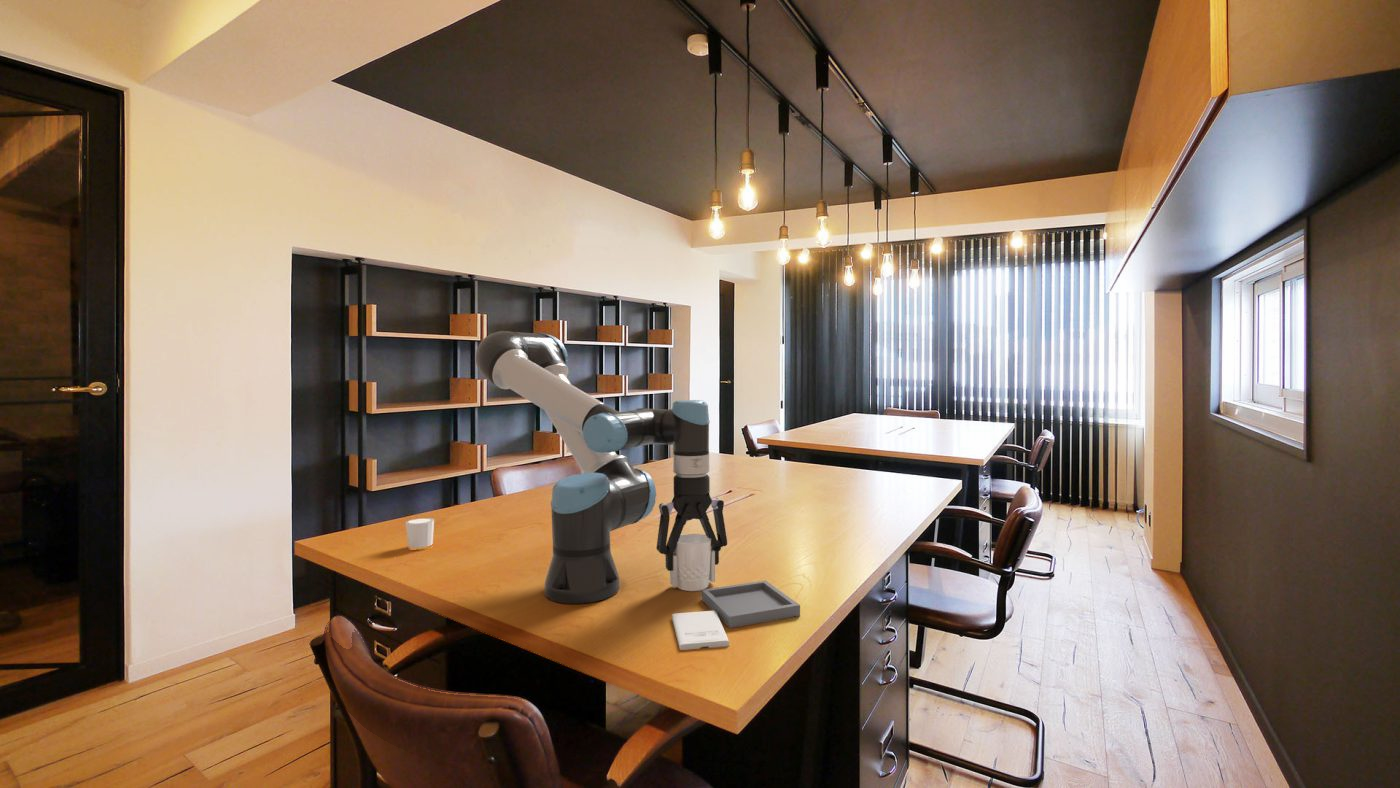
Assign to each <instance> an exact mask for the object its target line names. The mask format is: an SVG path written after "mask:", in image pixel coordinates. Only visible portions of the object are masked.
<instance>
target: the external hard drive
mask: <svg viewBox="0 0 1400 788" xmlns="http://www.w3.org/2000/svg"><path fill="white" fill-rule="evenodd" d="M671 620H672V621H671V622H672V624H673V629H674V632H675V635H676V640H677V643H678V648H679V650H680V651H686V650H687V651H688V650H698V649H702V648H703V649H705V648H709V649H711V648H723V647H724V648H725V647H730V641H729V638H728V636H727V633H726V631H725V629H724V626H723V624H722V622H721V621H722V620H721V619H720V618H719V617H718V615H717V612H716V611H712V610H704V611H702V610H701V611H692V612H690V611H688V612H679V613H678V612H676V613H672V614H671Z"/></svg>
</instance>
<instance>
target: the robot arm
mask: <svg viewBox="0 0 1400 788" xmlns="http://www.w3.org/2000/svg"><path fill="white" fill-rule="evenodd" d="M567 357H569V355H568V351H567V348H566V347H565V345H564V344H563V342H562V341H561V340H560V339H559V338H557V337H555V336H553V335H551V334H546V333H545V332H544V333H543V332H532V333H531V332H518V331H507V330H500V331H497V332H493V333H490V334H489V335H487V336H485V337H484V338H483V339H482V340H481V341H480V343H479V344H478V346H477V348H476V351H475V363H476V364H475V365H476V366H477V369H478V371H479V373H480V374H481V375H482V376H483V378H485V379H486V380H487V381H488V382H490V383H491V384H493V385H494V386H496V387H497V388H499V389H500V390H501V389H502V390H509V389H510V390H511V391H513V392H514V393H516V394H518V395H519V396H521V398H522V397H523V398H524V399H525V400H527V401H529V402H530V403H533V405H535V406H537V407H539V409H542V410H543V411H544V412H545V413H546V415H547V417H548V418H549V420H550V422H551V423H552V425H553V426H554V427H555V429H556V431H557V433H558V435H559V436H560V437H561V439H562V440H563V442H564V444H565V445H566V447H567V448H568V451H569V452H570V453H571V455H572V457H573V458H574V460H575V462H576V463H577V465H578V466H579V468H580V469H581V471H582V473H580V474H578V473H577V474H573V475H572V474H571V475H569V476H566V477H563V478H561V479H559V480H558V481H557V482H555V484H554V485H553V486H552V489H551V492H552V493H551V501H550V508H551V528H552V529H551V532H552V536H551V537H552V558H551V560H550V564H549V567H548V571H547V574H546V577H545V580H544V595H545V597H546V598H547V599H548V598H549V599H548V600H550V601H553V602H556V603H561V604H571V605H573V604H577V605H579V604H587V603H588V604H589V603H594V602H598V601H602V600H605V599H607V598H611V597H612V596H614V595H616V594H617V592H618V591H620V575H619V571H618V570H617V566H616V564H615V560H614V558H613V555H612V551H611V532H612V531H615V530H618V529H621V528H623V527H626V526H628V525H633V524H637V523H638V522H640V521H641V520H643V519H645V518H646V517H648V516H649V515H650V514H651V512H652V511H653V509H654V507H655V504H656V497H657V488H656V483H655V482H654V479H653V478H652V476H651V475H650V474H649V473H648V472H647V471H646V470H644V469H640V468H634V466H633V464H632V463H631V462H630V460H629V459H628V457H627V456H625V455H620V454H617V452H618V451H623V450H626V449H631V448H637V447H644V446H647V445H667V446H672V450H673V451H672V454H673V455H672V457H673V459H672V461H673V464H672V465H673V467H672V468H673V469H672V472H673V473H674V474H675V475H674V476H673V498H672V500H671V501H670V502H668V503H660V504H659V505H658V509H659V512H660V520H659V526H658V531H657V532H658V533H657V540H656V541H657V542H656V551H658V553H659V554H661V555H665V568H666V570H667V572H669V582H670V583H669V584H670V585H671V586H672V587H673V588H678V572H677V555H676V554H675V553H674V551H675V549H676V546H677V542H678V540H679V538H680V535H682V532H683V530H684V527H685V525H686V524H687V521H691V520H693V519H694V520H699V521H700V524H701V527H702V529H703V532H704V533H705V534H704V535H706V536H707V537H708V538H709V539H710V538H711V559H710V573H709V582H711V583H715V582H716V565H719V563H720V551H721V550H722V547H726V546H727V545H728V538H727V531H726V525H725V518H724V513H723V512H724V505H725V502H724V500H722V499H720V498H712V497H711V494H710V491H711V489H710V485H711V484H710V481H711V479H710V477H711V476H710V475H709V473H710V449H709V447H710V443H709V441H710V423H711V422H710V416H709V405H708V403H707V402H706V401H704V400H702V399H701V400H700V399H690V400H689V399H682V400H674V401H673V402H672V406H671V407H672V408H671V409H665V408H664V409H661V408H660V409H658V408H647V407H642V408H639V407H638V408H631V409H629V410H627V411H626V410H625V411H618V410H616V409H614V408H612V407H610V406H609V405H606V404H605V403H603V402H602V401H600V400H599V399H597V398H595V397H594V396H592V395H590V394H588V393H587V392H585V391H583V390H581V389H579V388H578V387H576V386H575V385H573V384H572V383H571V382H570V380H569V379H568V375H569V372H570V371H569V368H568V367H569V360H568V359H567ZM710 506H711V509H712V511H713V519H714V524H715V531H714V530H713V527H712V524H711V523H710V519H709V515H708V514H707V511H708V509H709V508H710ZM673 509H674V510H675V511H676V515H675V518H674V523H673V526H672V530H671V531H670V534H669V537H668V533H669V526H670V519H671V518H670V515H671V513H672V510H673ZM715 532H716V535H715Z"/></svg>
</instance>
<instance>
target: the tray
mask: <svg viewBox="0 0 1400 788" xmlns="http://www.w3.org/2000/svg"><path fill="white" fill-rule="evenodd" d="M701 601H702V602H704V603H705V605H706V606H707V607H708V608H709V609H710V611H716V612H717V615H718V617H719V619H720V621H722V622H723V623H724V624H725V625H726V626H727V627H728V628H729V629H732V628H737V627H743V626H748V625H754V624H755V625H756V624H760V623H768V622H771V621H778V620H779V621H780V620H785V619H790V618H795V617H794V616H796V617H800V616H801V605H800V604H799V603H798V602H796V601H795V600H793V599H792V598H791V597H789V596H788V595H787V594H785V593H784V592H782V591H781V590H779V588H777V587H775V585H772V583H770V582H769V581H767V580H761V581H753V582H745V583H737V584H731V585H725V586H719V587H713V588H712V587H711V588H706V589H704V590H701Z"/></svg>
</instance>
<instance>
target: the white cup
mask: <svg viewBox="0 0 1400 788" xmlns="http://www.w3.org/2000/svg"><path fill="white" fill-rule="evenodd" d="M674 553H675V554H676V555H677V572H678V587H677V588H678V589H679V590H682V591H687V592H698V591H699V592H700V591H702V590H704V589H708V587H709V585H710V580H709V573H710V559H711V538H710V539H709V538H708V537H707V536H706V534H704V533H703V534H702V533H685V534H681V535H680V538H679V540H678V542H677V546H676V549H675V551H674Z"/></svg>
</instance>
